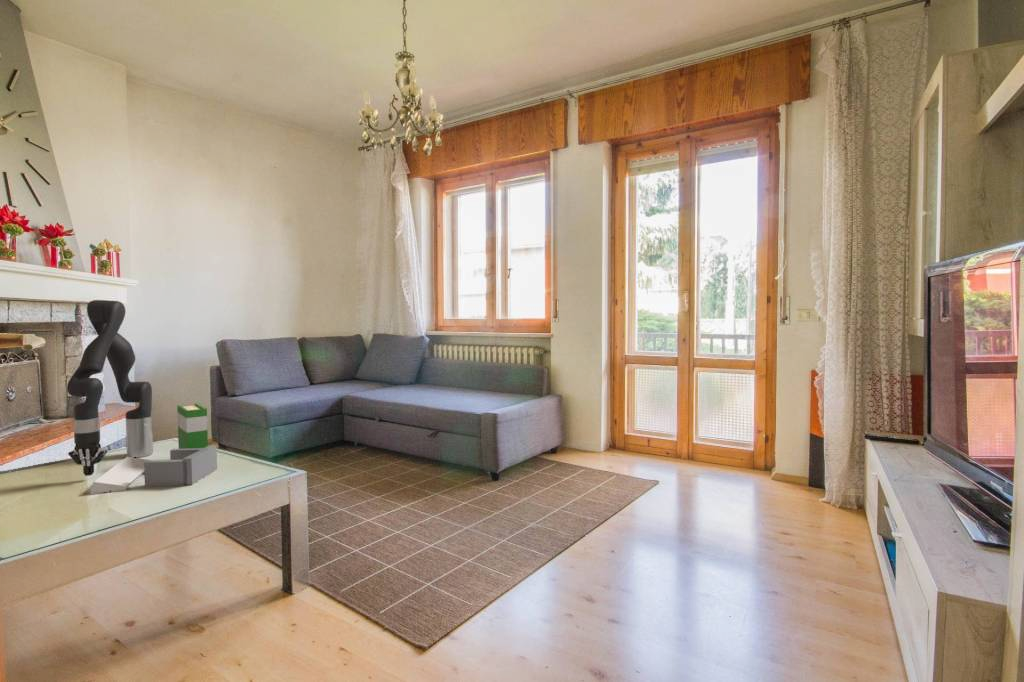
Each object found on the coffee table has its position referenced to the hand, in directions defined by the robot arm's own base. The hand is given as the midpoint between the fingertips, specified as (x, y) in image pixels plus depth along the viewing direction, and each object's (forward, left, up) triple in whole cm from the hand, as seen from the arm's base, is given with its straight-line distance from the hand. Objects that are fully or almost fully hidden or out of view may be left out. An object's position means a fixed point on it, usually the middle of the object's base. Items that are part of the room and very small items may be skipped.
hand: (88, 475), depth 192 cm
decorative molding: (-2, +12, -3) cm, 12 cm away
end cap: (0, +33, -2) cm, 33 cm away
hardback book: (-21, +27, -2) cm, 34 cm away
